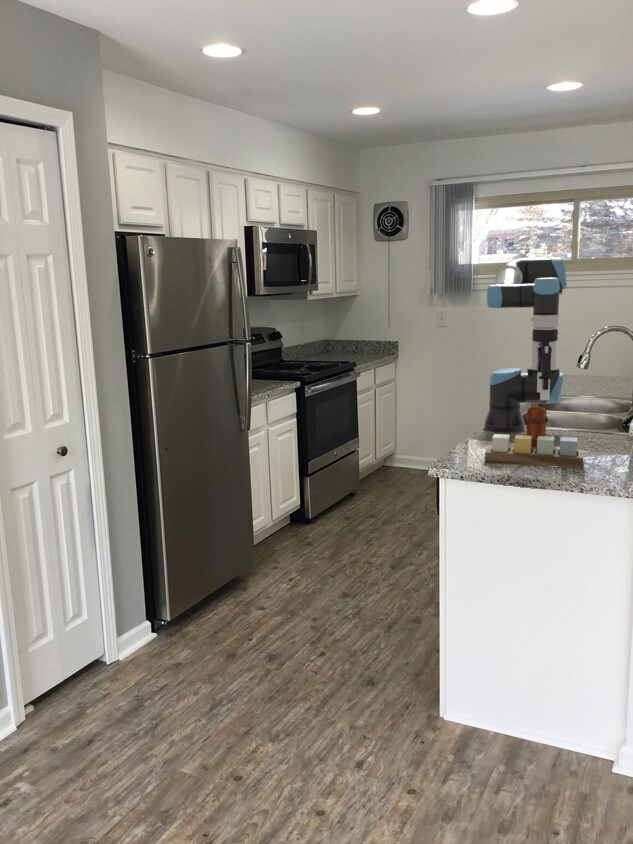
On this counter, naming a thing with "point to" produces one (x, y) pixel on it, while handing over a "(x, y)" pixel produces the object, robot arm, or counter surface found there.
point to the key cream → (500, 443)
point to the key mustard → (523, 444)
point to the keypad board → (534, 458)
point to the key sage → (545, 445)
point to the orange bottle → (536, 422)
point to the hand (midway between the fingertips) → (543, 396)
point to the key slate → (568, 446)
